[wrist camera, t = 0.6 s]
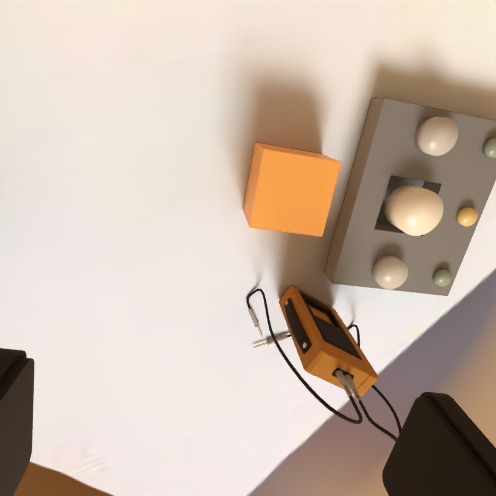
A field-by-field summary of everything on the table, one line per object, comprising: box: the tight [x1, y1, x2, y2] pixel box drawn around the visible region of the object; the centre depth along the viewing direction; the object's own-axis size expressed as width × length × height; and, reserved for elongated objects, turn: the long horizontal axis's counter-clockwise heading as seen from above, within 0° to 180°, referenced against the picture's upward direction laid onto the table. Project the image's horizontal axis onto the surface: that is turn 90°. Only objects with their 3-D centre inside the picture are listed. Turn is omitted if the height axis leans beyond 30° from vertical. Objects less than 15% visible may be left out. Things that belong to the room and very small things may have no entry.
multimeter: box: [247, 286, 402, 442], centre depth 38 cm, size 15×10×20 cm
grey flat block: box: [324, 98, 496, 296], centre depth 40 cm, size 20×15×4 cm
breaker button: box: [385, 184, 443, 236], centre depth 38 cm, size 5×5×3 cm
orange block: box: [243, 143, 342, 237], centre depth 37 cm, size 7×7×6 cm
